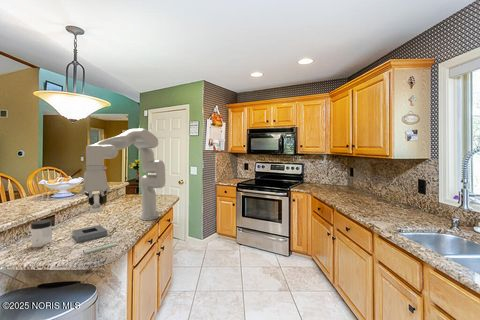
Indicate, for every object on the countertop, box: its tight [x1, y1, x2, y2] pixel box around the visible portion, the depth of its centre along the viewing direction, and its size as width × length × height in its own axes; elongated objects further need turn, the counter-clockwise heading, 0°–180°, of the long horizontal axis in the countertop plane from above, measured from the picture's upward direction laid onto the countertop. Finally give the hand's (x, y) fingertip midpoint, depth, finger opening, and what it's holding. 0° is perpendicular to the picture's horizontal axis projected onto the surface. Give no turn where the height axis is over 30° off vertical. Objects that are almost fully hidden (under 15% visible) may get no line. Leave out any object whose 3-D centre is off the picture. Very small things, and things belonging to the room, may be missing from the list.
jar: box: [30, 219, 53, 248], centre depth 121 cm, size 9×8×12 cm
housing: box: [71, 224, 108, 244], centre depth 130 cm, size 14×14×4 cm
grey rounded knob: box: [89, 192, 103, 214], centre depth 119 cm, size 6×6×9 cm
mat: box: [82, 242, 118, 255], centre depth 118 cm, size 14×12×1 cm
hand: (96, 204), depth 119 cm, fingers closed on grey rounded knob, 3 cm apart
